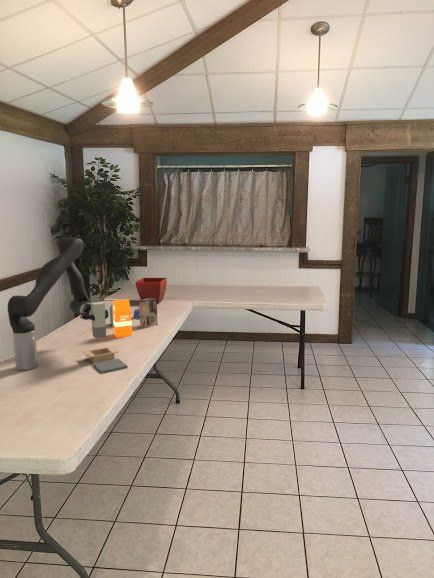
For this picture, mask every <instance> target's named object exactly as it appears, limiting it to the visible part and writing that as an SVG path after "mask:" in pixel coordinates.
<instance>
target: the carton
mask: <svg viewBox="0 0 434 578" xmlns="http://www.w3.org/2000/svg"><path fill="white" fill-rule="evenodd" d="M82 353H83V355H85V357H86V358H87V359H89V360H91V362H92V364H93V363H97V362H102V361H108V360H113V359H115V354H119V353H120V351H119V350H118V349H116V348H115V347H114V346H106V347H102V348H96V349H91V350H86V351H82Z"/></svg>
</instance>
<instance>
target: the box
mask: <svg viewBox="0 0 434 578" xmlns="http://www.w3.org/2000/svg"><path fill="white" fill-rule="evenodd" d="M105 310H106V303H104V302H102V301H97V302H91V314H92V315H94V316H95V321H93V320H91V327H92V328H91V331H92V332H91V333H92V337H93V338H95V339H99V338H106V337H107V326H106V323H107V321H106V319H105Z"/></svg>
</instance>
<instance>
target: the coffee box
mask: <svg viewBox="0 0 434 578" xmlns="http://www.w3.org/2000/svg"><path fill="white" fill-rule="evenodd" d="M157 305H158V303H157V301H156V299H154V298H147V299H143V300H141V299H139V300H138V309H139V312H140V319H139V326H140V327H143V328H147V329H148V328H150V327H153V326H157V325H159V321H158V306H157Z"/></svg>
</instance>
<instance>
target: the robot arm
mask: <svg viewBox="0 0 434 578" xmlns="http://www.w3.org/2000/svg"><path fill="white" fill-rule="evenodd" d="M84 249H85V244H84V241H83V240H82V239H81V238H78V237H62V238H61V239H60V240H59V242H58V252H59V254H60V255H58V256H56V257H54V258H52V259H51V260H48V262H46V263H44V265H43V266H42V267H41V268H40V269H39V271H38V272H37V274H36V275H35V285H34V288H33V289H32V290H31V291H30V292H29V293H28V294H27V295H12V297H10V298H9V299H8V302H7V313H8V314H7V315H8V320H9V325H10V328H11V329H12V336H13V353H14V354H13V355H14V363H15V368H16V370H17V371H18V370H19V371H30V370H33V369H36V368H38V367H39V360H38V359H39V358H38V349H37V340H36V339H37V337H36V330H35V329H36V328H35V324H34V323H33V322H32V321H31V320H29V318H30V317H32V316H33V315H34V314H35V313H36V312H37V310H38V309H39V307H40V305H41V303H42V302H43V301H44V299H45V297H46V296H47V294H48V293H49V292H50V291H51V289H52V288H53V287H54V286H55V284H56V283H57V282H58V281H59V279H60V278H61V277H62V275H63V274H64V273H65V271H66V274H67V277H68V278H67V279H68V282H69V287H70V292H71V295H73V296H81V297H80V298H75V299H73V300H71V301H70V302H69V309H70V310H71V312H72V313H74V314H77V315H79V317H80V319H82V320H85V321H87V320H89V321H92V320H93V321H95V316H94V315H92V314H91V303H92V302H91V300H90V298H89V296H88V294H87V292H86V288H85V281H84V277H83V275H82V274H81V272H80V270H79V269H78V268H77V266H76V264H75V263H74V261H75V260H77V258H79V256H81V254H82V253H83V250H84ZM28 317H29V318H28ZM108 317H109V318H110V314H109V310H108V309H107V308H105V320H107V319H108Z"/></svg>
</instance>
